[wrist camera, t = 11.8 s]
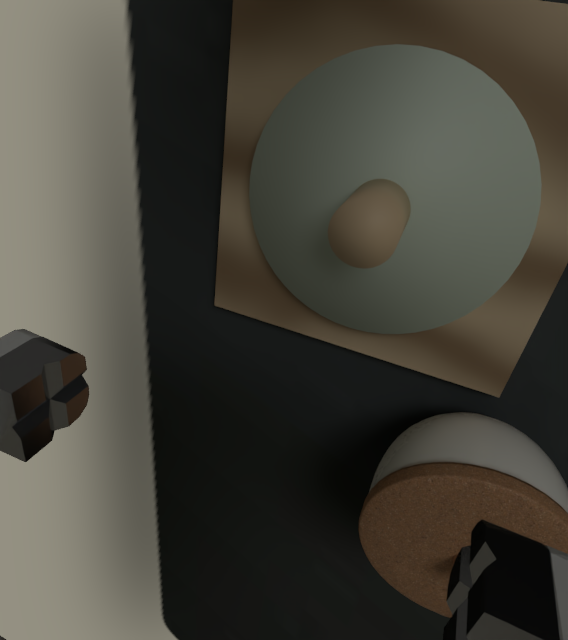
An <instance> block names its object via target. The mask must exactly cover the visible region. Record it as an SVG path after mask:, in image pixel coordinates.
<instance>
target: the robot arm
mask: <svg viewBox="0 0 568 640" xmlns="http://www.w3.org/2000/svg"><path fill="white" fill-rule="evenodd" d="M86 370H87V368H86V361H85V357H84V356H83V355H81V354H79V353H78V352H75V351H73V350H71V349H69V348H66V347H64V346H62V345H59V344H58V343H55V342H53V341H51V340H48V339H46V338H44V337H41V336H39V335H37V334H34V333H32V332H30V331H27V330H25V329H21V330H14V331H12V332H10V333H8V334H7V335H5V336H3V337H1V338H0V451H2V452H5V453H7V454H9V455H11V456H13V457H16V458H18V459H20V460H22V461H24V462H27V461H28V460H29V459H30V458H31V457H33V456H34V455H35V454H36V453H38V452H39V451H40V450H41V449H42V448H43V447H45V446H46V445H47V444H48V443H49V442H51V441H52V438H53V435H54V431H55V430H57V429H61V428H65V427H68V426H70V425H71V424H72V423H73V422H74V421H75V420H76V419H77V418H79V416H80V415H81V413H82V412H83V410H84V409H85V407H86V405H87V402H88V397H89V387H88V384H87V383H86V381H85V379H84V378H83V376H82V374H83V373H84V372H85V371H86ZM446 602H447V604H448V606H449V608H450V611H451V613H452V617H451V618H450V620H449V621H448V623H447V624H446V626H445V627H444V633H443V640H568V554H567V553H564V552H562V551H559V550H557V549H554V548H552V547H549V546H547V545H543V544H542V543H540V542H538V541H535V540H533V539H530V538H528V537H525V536H523V535H520V534H518V533H515V532H513V531H510V530H508V529H505V528H503V527H500V526H498V525H495V524H493V523H490V522H488V521H485V520H483V519H482V520H480V521H479V522H478V523H477V524H476V525H475V527H474V528H473V530H472V532H471V545H469V546H465V547H462V548H461V550H460V552H459V553H458V555H457V557H456V559H455V562H454V565H453V567H452V570H451V573H450V578H449V583H448V590H447V599H446ZM0 640H6V639H4V638H3V637H1V636H0Z"/></svg>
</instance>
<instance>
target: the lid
mask: <svg viewBox="0 0 568 640" xmlns="http://www.w3.org/2000/svg"><path fill="white" fill-rule="evenodd" d="M541 186H542V183H541V172H540V162H539V158H538V154H537V150H536V146H535V142H534V140H533V137H532V135H531V133H530V130H529V128H528V125H527V123H526V121H525V119H524V118H523V116H522V114H521V113H520V111H519V110H518V108H517V106H516V105H515V103H514V102H513V100H512V99H511V98H510V97H509V96H508V95H507V94H506V92H505V91H504V90H503V89H502V88H501V87H500V85H499V84H497V83H496V82H495V81H494V80H493V79H491V78H490V77H489V76H488V75H487V74H486V73H484V72H483V71H482V70H480V69H479V68H477V67H475V66H474V65H472V64H470V63H469V62H467V61H465V60H464V59H461V58H459V57H456V56H454V55H451V54H449V53H446V52H444V51H440V50H436V49H432V48H427V47H423V46H416V45H402V44H393V45H380V46H373V47H368V48H364V49H360V50H355V51H352V52H350V53H347V54H344V55H342V56H339V57H337V58H334V59H332V60H331V61H329V62H327V63H325V64H323V65H322V66H320V67H318V68H316V69H315V70H314V71H312V72H311V73H310V74H308V75H307V76H306V77H304V78H303V79H302V80H300V81H299V82H298V83H297V84H296V85H295V86H294V87H293V88H292V89H291V90H290V91H289V92H288V93H287V94H286V95H285V97H284V98H283V99H282V101H281V102H280V103H279V104H278V106H277V107H276V108H275V110H274V111H273V113H272V115H271V116H270V118H269V120H268V122H267V123H266V125H265V127H264V129H263V131H262V134H261V136H260V139H259V141H258V143H257V146H256V150H255V154H254V157H253V161H252V167H251V174H250V185H249V200H250V211H251V217H252V221H253V226H254V230H255V233H256V236H257V239H258V242H259V245H260V247H261V249H262V252H263V254H264V256H265V258H266V260H267V262H268V263H269V265H270V266H271V268H272V270H273V271H274V273H275V274H276V275H277V277H278V278H279V279H280V281H281V282H282V283H283V284H284V286H285V287H286V288H287V289H288V290H289V291H290V292H291V293H292V294H293V295H294V296H295V297H296V298H297V299H299V300H300V301H301V302H302V303H304V304H305V305H306V306H307V307H309V308H310V309H312V310H313V311H315V312H317V313H318V314H320V315H321V316H323V317H325V318H327V319H329V320H331V321H333V322H335V323H338V324H341V325H343V326H346V327H349V328H352V329H356V330H361V331H365V332H371V333H379V334H406V333H416V332H421V331H425V330H430V329H434V328H437V327H440V326H443V325H445V324H448V323H451V322H453V321H455V320H457V319H459V318H461V317H463V316H465V315H467V314H468V313H470V312H472V311H473V310H475V309H476V308H478V307H479V306H481V305H482V304H483V303H484V302H486V301H487V300H488V299H489V298H490V297H492V296H493V295H494V294H495V293H496V292H497V291H498V290H499V289H500V288H501V287H502V286H503V285H504V284H505V283H506V281H507V280H508V279H509V278H510V276H511V275H512V274H513V272H514V271H515V269H516V268H517V267H518V265H519V264H520V262H521V260H522V258H523V256H524V254H525V253H526V251H527V249H528V247H529V245H530V242H531V239H532V236H533V234H534V231H535V228H536V224H537V220H538V215H539V210H540V204H541Z"/></svg>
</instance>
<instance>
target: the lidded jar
mask: <svg viewBox="0 0 568 640" xmlns="http://www.w3.org/2000/svg"><path fill="white" fill-rule="evenodd" d="M482 519H483V520H485V521H488V522H490V523H493V524H495V525H498V526H500V527H503V528H505V529H508V530H510V531H513V532H515V533H518V534H520V535H523V536H525V537H528V538H530V539H533V540H535V541H538V542H540V543H542V544H543V545H547V546H549V547H552V548H554V549H557V550H559V551H562V552H564V553H567V554H568V489H567V486H566V484H565V482H564V480H563V478H562V476H561V475H560V473H559V471H558V470H557V468H556V466H555V465H554V463H553V462H552V460H551V459H550V458H549V457H548V456H547V455H546V453H545V452H544V451H543V450H542V449H541V448H540V447H539V446H538V445H537V444H536V443H535V442H534V441H533V440H531V439H530V438H529V437H528V436H526V435H525V434H523V433H522V432H521V431H519V430H517V429H516V428H514V427H512V426H511V425H509V424H506V423H504V422H502V421H500V420H497V419H494V418H491V417H488V416H485V415H482V414H477V413H471V412H454V413H446V414H440V415H435V416H432V417H429V418H426V419H424V420H422V421H420V422H418V423H416V424H414V425H412V426H411V427H409V428H408V429H407V430H405V431H404V432H403V433H402V434H401V435H399V436H398V437H397V438H396V440H395V441H394V442H393V443H392V444H391V445H390V447H389V448H388V450H387V451H386V453H385V454H384V456H383V458H382V460H381V461H380V463H379V465H378V468H377V470H376V472H375V474H374V477H373V481H372V484H371V487H370V490H369V493H368V495H367V497H366V499H365V501H364V504H363V508H362V511H361V514H360V518H359V536H360V541H361V544H362V547H363V549H364V552H365V554H366V556H367V557H368V559H369V561H370V563H371V564H372V566H373V567H374V568H375V569H376V570H377V572H378V573H379V574H380V575H381V576H382V577H383V578H384V579H385V580H386V581H387V582H388V583H389V584H390V585H391V586H392V587H394V588H395V589H396V590H398V591H399V592H400V593H402V594H403V595H405V596H406V597H408V598H409V599H411V600H412V601H414V602H416V603H418V604H419V605H421V606H423V607H425V608H427V609H429V610H432V611H434V612H436V613H439V614H441V615H443V616H447V617H450V618H451V617H452V613H451V611H450V608H449V606H448V604H447V602H446V599H447V590H448V583H449V578H450V573H451V570H452V567H453V565H454V562H455V559H456V557H457V555H458V553H459V552H460V550H461V548H462V547H465V546H469V545H471V532H472V530H473V528H474V527H475V525H476V524H477V523H478V522H479V521H480V520H482Z"/></svg>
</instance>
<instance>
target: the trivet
mask: <svg viewBox="0 0 568 640" xmlns="http://www.w3.org/2000/svg"><path fill="white" fill-rule="evenodd" d="M393 44H402V45H416V46H423V47H427V48H432V49H436V50H440V51H444V52H446V53H449V54H451V55H454V56H456V57H459V58H461V59H464V60H465V61H467V62H469V63H470V64H472V65H474V66H475V67H477V68H479V69H480V70H482V71H483V72H484V73H486V74H487V75H488V76H489V77H490V78H491V79H493V80H494V81H495V82H496V83H497V84H499V85H500V87H501V88H502V89H503V90H504V91H505V92H506V94H507V95H508V96H509V97H510V98H511V99H512V100H513V102H514V103H515V105H516V106H517V108H518V110H519V111H520V113H521V114H522V116H523V118H524V119H525V121H526V123H527V125H528V128H529V130H530V133H531V135H532V137H533V140H534V142H535V146H536V150H537V154H538V158H539V162H540V172H541V183H542V186H541V204H540V210H539V215H538V220H537V224H536V228H535V231H534V234H533V236H532V239H531V242H530V245H529V247H528V249H527V251H526V253H525V254H524V256H523V258H522V260H521V262H520V264H519V265H518V267H517V268H516V269H515V271H514V272H513V274H512V275H511V276H510V278H509V279H508V280H507V281H506V283H505V284H504V285H503V286H502V287H501V288H500V289H499V290H498V291H497V292H496V293H495V294H494V295H493V296H492V297H490V298H489V299H488V300H487V301H486V302H484V303H483V304H482V305H481V306H479V307H478V308H476V309H475V310H473V311H472V312H470V313H468V314H467V315H465V316H463V317H461V318H459V319H457V320H455V321H453V322H451V323H448V324H445V325H443V326H440V327H437V328H434V329H430V330H425V331H421V332H416V333H406V334H379V333H371V332H365V331H361V330H356V329H352V328H349V327H346V326H343V325H341V324H338V323H335V322H333V321H331V320H329V319H327V318H325V317H323V316H321V315H320V314H318V313H317V312H315V311H313V310H312V309H310V308H309V307H307V306H306V305H305V304H304V303H302V302H301V301H300V300H299V299H297V298H296V297H295V296H294V295H293V294H292V293H291V292H290V291H289V290H288V289H287V288H286V287H285V286H284V284H283V283H282V282H281V281H280V279H279V278H278V277H277V275H276V274H275V273H274V271H273V270H272V268H271V266H270V265H269V263H268V262H267V260H266V258H265V256H264V254H263V252H262V249H261V247H260V245H259V242H258V239H257V236H256V233H255V230H254V226H253V221H252V217H251V211H250V200H249V185H250V174H251V167H252V161H253V157H254V154H255V150H256V146H257V143H258V141H259V139H260V136H261V134H262V131H263V129H264V127H265V125H266V123H267V122H268V120H269V118H270V116H271V115H272V113H273V111H274V110H275V108H276V107H277V106H278V104H279V103H280V102H281V101H282V99H283V98H284V97H285V95H286V94H287V93H288V92H289V91H290V90H291V89H292V88H293V87H294V86H295V85H296V84H297V83H298V82H299V81H300V80H302V79H303V78H304V77H306V76H307V75H308V74H310V73H311V72H312V71H314V70H315V69H316V68H318V67H320V66H322V65H323V64H325V63H327V62H329V61H331V60H332V59H334V58H337V57H339V56H342V55H344V54H347V53H350V52H352V51H355V50H360V49H364V48H368V47H373V46H380V45H393ZM567 263H568V4H563V3H555V2H547V1H539V0H233V11H232V28H231V44H230V60H229V76H228V93H227V109H226V125H225V142H224V158H223V174H222V190H221V207H220V223H219V239H218V255H217V272H216V288H215V304H214V305H215V306H218V307H221V308H224V309H227V310H230V311H233V312H236V313H239V314H242V315H246V316H249V317H252V318H255V319H258V320H261V321H264V322H267V323H270V324H273V325H276V326H279V327H283V328H286V329H289V330H292V331H295V332H298V333H301V334H304V335H307V336H310V337H313V338H317V339H320V340H323V341H326V342H329V343H332V344H335V345H338V346H341V347H344V348H347V349H351V350H354V351H357V352H360V353H363V354H366V355H369V356H372V357H375V358H378V359H381V360H385V361H388V362H391V363H394V364H397V365H400V366H403V367H406V368H409V369H412V370H415V371H419V372H422V373H425V374H428V375H431V376H434V377H437V378H440V379H443V380H446V381H449V382H453V383H456V384H459V385H462V386H465V387H468V388H471V389H474V390H477V391H480V392H483V393H487V394H490V395H493V396H496V397H500V395H501V393H502V391H503V389H504V387H505V385H506V383H507V381H508V379H509V377H510V375H511V373H512V371H513V369H514V367H515V365H516V363H517V361H518V359H519V357H520V355H521V353H522V351H523V349H524V347H525V346H526V344H527V342H528V340H529V338H530V336H531V334H532V332H533V330H534V328H535V326H536V324H537V322H538V320H539V318H540V316H541V314H542V312H543V310H544V308H545V306H546V304H547V302H548V300H549V298H550V296H551V294H552V292H553V291H554V289H555V287H556V285H557V283H558V281H559V279H560V277H561V275H562V273H563V271H564V269H565V267H566V265H567Z"/></svg>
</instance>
